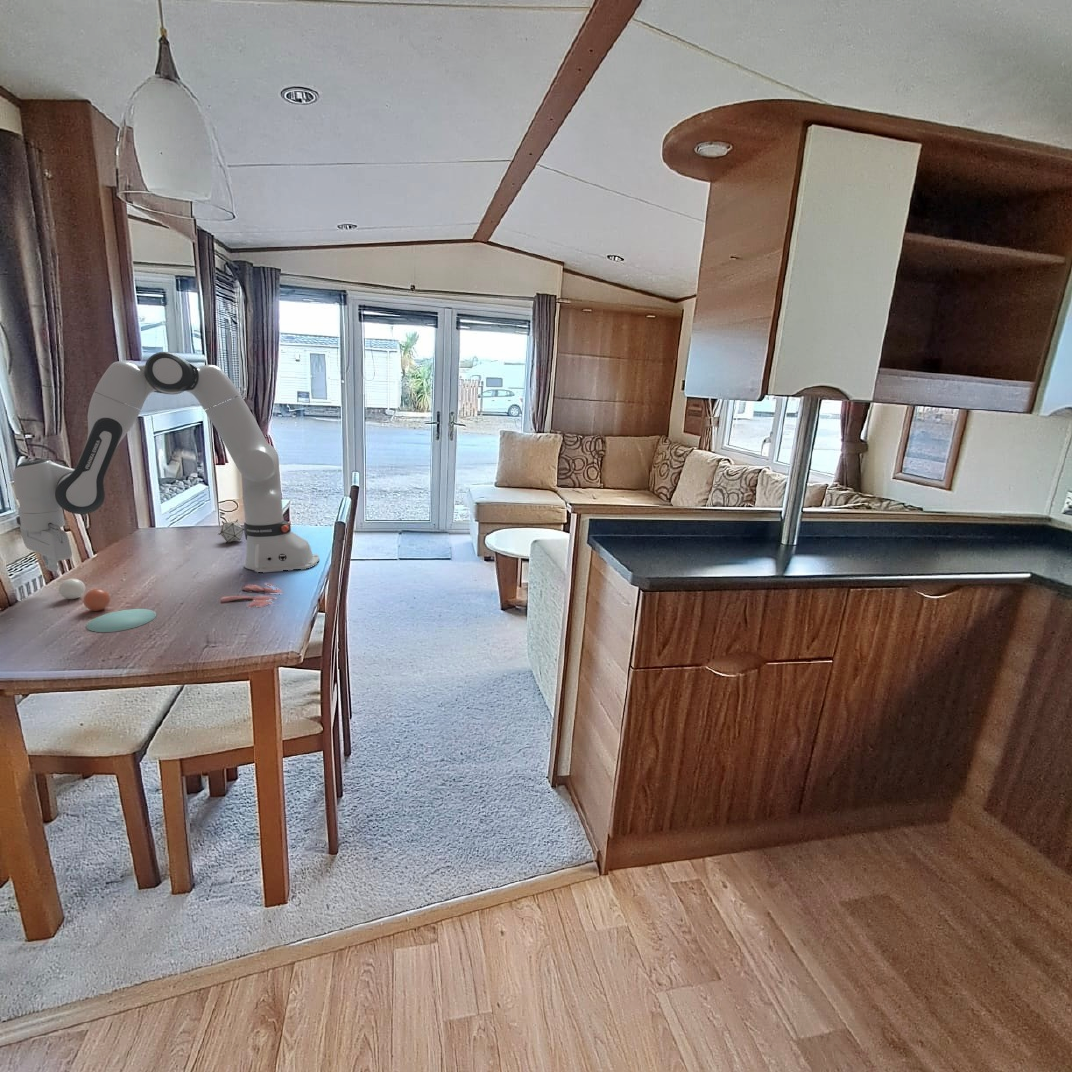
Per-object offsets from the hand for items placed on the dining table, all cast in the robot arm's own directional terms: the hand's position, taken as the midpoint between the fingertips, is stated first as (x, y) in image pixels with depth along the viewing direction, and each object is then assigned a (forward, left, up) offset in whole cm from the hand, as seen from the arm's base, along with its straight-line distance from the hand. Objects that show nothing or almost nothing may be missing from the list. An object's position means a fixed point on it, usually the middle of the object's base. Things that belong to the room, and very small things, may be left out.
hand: (51, 569), depth 157 cm
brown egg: (-19, +15, -4) cm, 24 cm away
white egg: (-8, +6, -4) cm, 10 cm away
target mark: (-28, +23, -6) cm, 36 cm away
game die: (-30, -49, -7) cm, 58 cm away
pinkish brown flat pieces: (-53, +7, -7) cm, 54 cm away
